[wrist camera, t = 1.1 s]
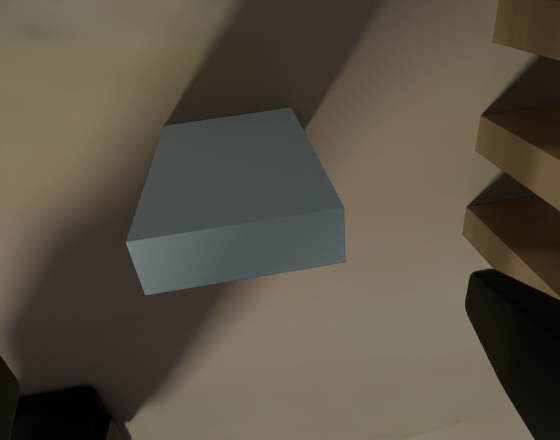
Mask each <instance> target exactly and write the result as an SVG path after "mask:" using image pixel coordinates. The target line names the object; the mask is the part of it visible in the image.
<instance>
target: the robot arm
mask: <svg viewBox="0 0 560 440" xmlns="http://www.w3.org/2000/svg"><path fill="white" fill-rule="evenodd" d="M465 308H466V312H467V315H468V317H469V319H470V321H471V323H472V325H473V327H474V330H475V332H476V334H477V336H478V338H479V340H480V342H481V344H482V346H483V348H484V350H485V353H486V355H487V357H488V359H489V361H490V363H491V365H492V367H493V369H494V371H495V373H496V375H497V377H498V379H499V381H500V383H501V385H502V387H503V388H504V390H505V392H506V393H507V395H508V397H509V399H510V400H511V402H512V403H513V405H514V407H515V408H516V410H517V412H518V413H519V415H520V416H521V418H522V420H523V421H524V423H525V425H526V426H527V428H528V429H529V431H530V433H531V434H532V436H533V437H534V439H535V440H560V300H559V299H557V298H555V297H553V296H551V295H549V294H546V293H544V292H542V291H540V290H538V289H536V288H534V287H532V286H530V285H528V284H525V283H523V282H521V281H519V280H517V279H515V278H513V277H511V276H509V275H507V274H504V273H502V272H500V271H498V270H496V269H485V270H479V271H474V272H473V273H472V274H471V275H470V278H469V283H468V289H467V294H466V300H465ZM19 390H20V388H19V383H18V380H17V379H16V377H15V376H14V374H13V373H12V371H11V370H10V368H9V367H8V365H7V364H6V363H5V361H4V360H3V358H2V357H1V356H0V440H124V438H123V436H122V434H121V433H120V431H119V429H118V427H117V425H116V423H115V422H114V420H113V418H112V417H111V416H110V415H109V413H108V412H107V410H106V408H105V406H104V404H103V402H102V401H101V399H100V397H99V395H98V393H97V391H96V390H95V389H93V388H91V387H80V388H75V389H69V390H63V391H58V392H52V393H46V394H41V395H35V396H29V397H24V398H19Z"/></svg>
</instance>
